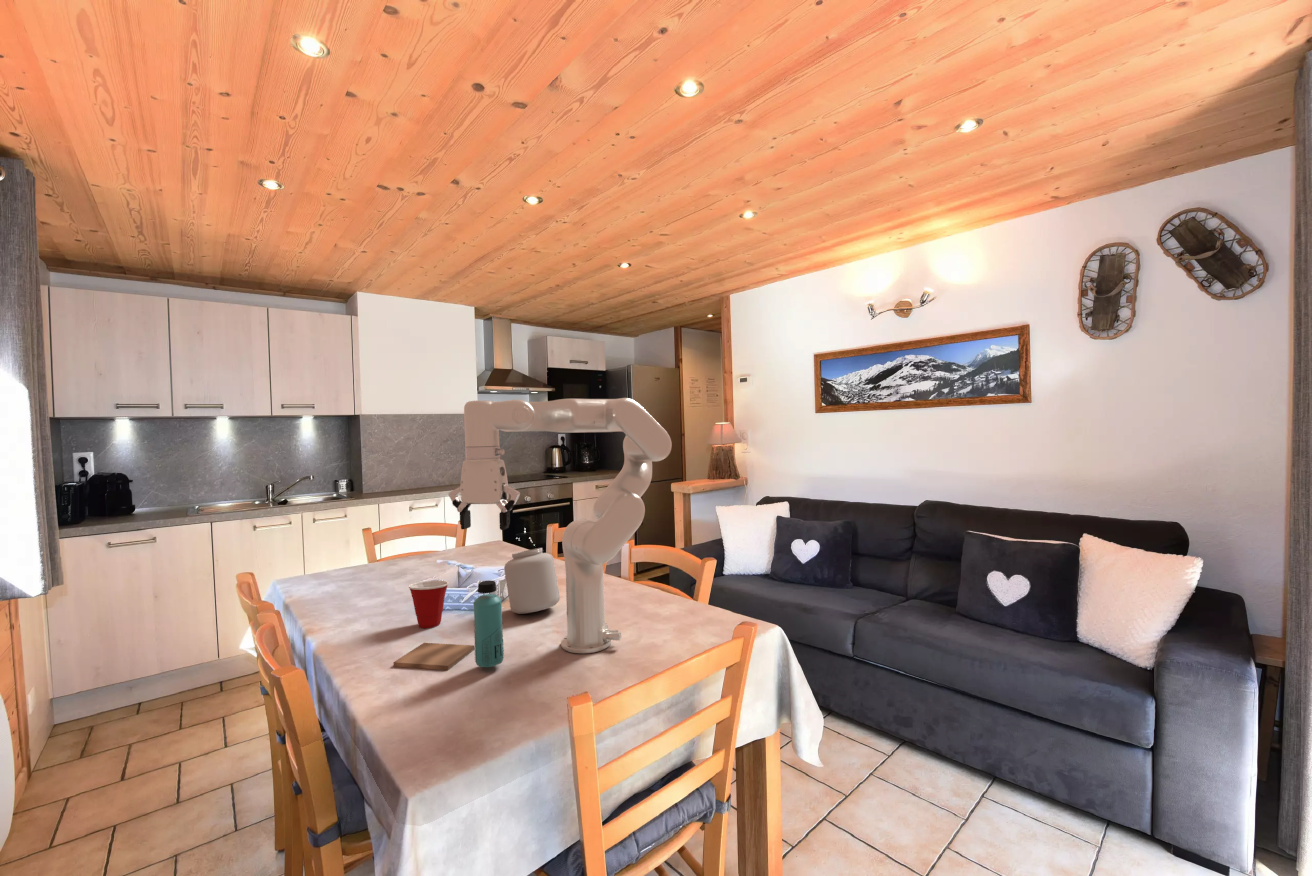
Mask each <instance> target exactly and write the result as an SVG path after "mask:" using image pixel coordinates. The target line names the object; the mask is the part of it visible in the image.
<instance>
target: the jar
mask: <svg viewBox="0 0 1312 876" xmlns="http://www.w3.org/2000/svg"><path fill="white" fill-rule="evenodd" d="M523 532H524V534H526V533H527V532H526V528H525V527H524V531H523ZM515 539H516V540H517V539H518V541H521V540H520V537H519V538H518V537H516V538H515ZM528 539H530V542H531V543H533V541H532V539H531V537H529V538H528ZM535 545H536V544H533V546H535ZM535 547H536V546H535ZM511 556H512V557H511V558H512V559H510V560H509V561H506V563H505V565H504V567H503V570H504V575H505V582H506V590H507V596H508V602H509V607H510V610H511V611H512V613H515V614H518V615H520V614H521V615H522V614H523V615H524V614H531V613H535V612H536V613H537V612H539V611H544V610H546V609H550V608H552V607H554V606H556V605H557V604H558V603H559V601H560V600H561V594H560V588H559V583H558V576H557V571H556V565H555V564H556V563H555V559H554V556H553V555H552V554H550V553H548V552H543V547H538V548H532V549H528V550H523V551H519V552H514V553H512V554H511ZM501 607H502V609H503V608H504V606H501Z"/></svg>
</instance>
